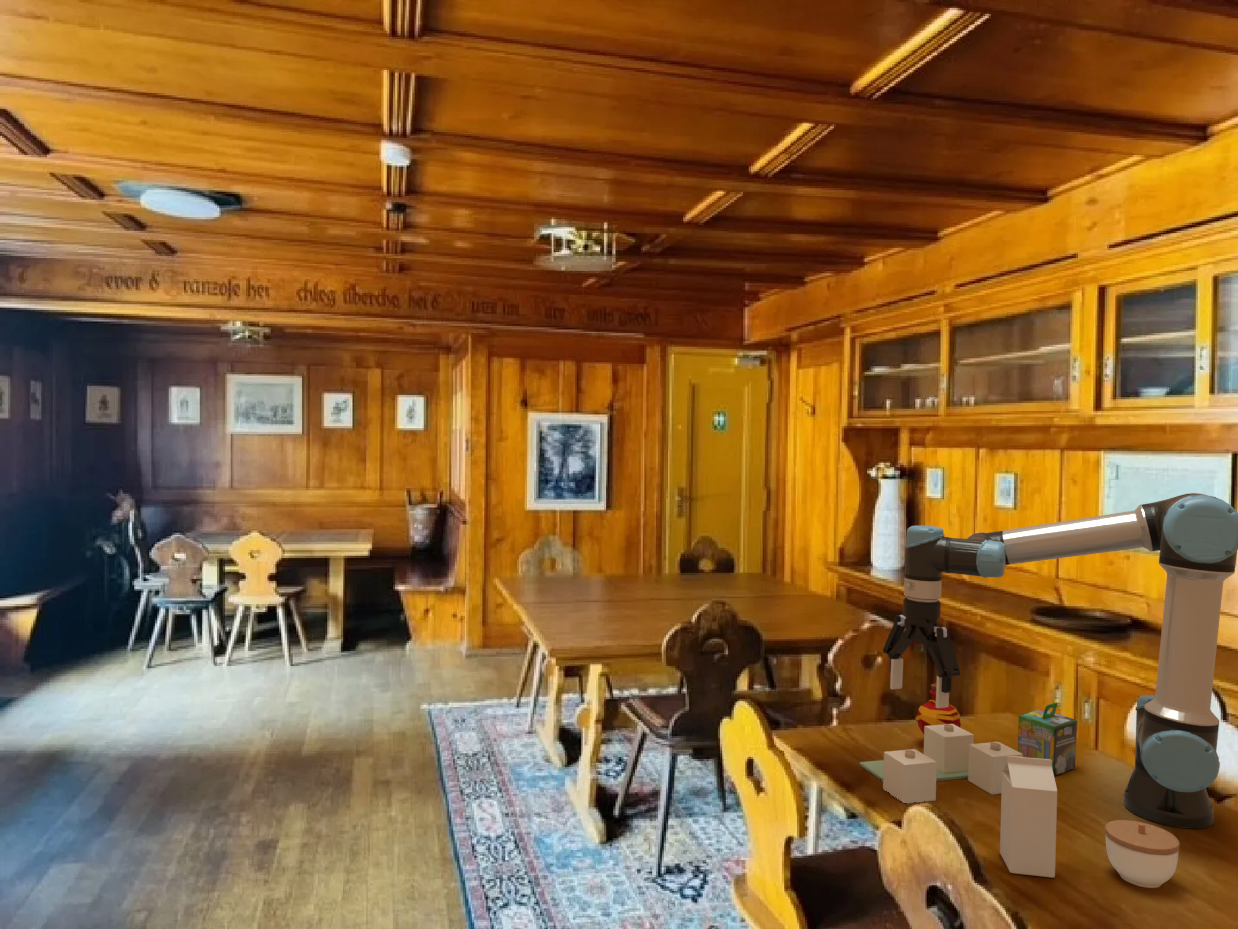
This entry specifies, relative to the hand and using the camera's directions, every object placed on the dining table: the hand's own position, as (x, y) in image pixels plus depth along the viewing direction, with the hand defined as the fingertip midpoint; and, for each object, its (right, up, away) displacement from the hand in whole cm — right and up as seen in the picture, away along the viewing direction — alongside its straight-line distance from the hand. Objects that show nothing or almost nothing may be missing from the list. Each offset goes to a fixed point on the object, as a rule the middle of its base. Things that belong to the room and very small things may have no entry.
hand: (918, 697), depth 178 cm
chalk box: (+34, -20, +14) cm, 42 cm away
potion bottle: (+14, -19, +25) cm, 34 cm away
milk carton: (+7, -20, -33) cm, 39 cm away
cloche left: (-3, -19, -3) cm, 20 cm away
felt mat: (+4, -19, +10) cm, 22 cm away
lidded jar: (+25, -21, -36) cm, 49 cm away
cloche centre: (+11, -19, +12) cm, 24 cm away
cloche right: (+17, -20, +2) cm, 26 cm away
